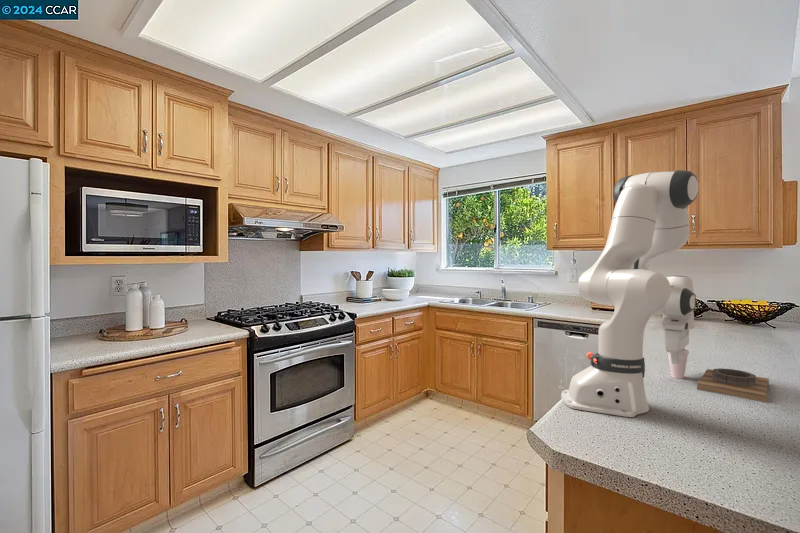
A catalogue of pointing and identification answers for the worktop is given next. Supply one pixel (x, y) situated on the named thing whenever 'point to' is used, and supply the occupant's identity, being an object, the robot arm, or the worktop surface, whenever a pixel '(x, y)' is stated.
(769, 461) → the worktop surface
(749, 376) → the stand
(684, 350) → the smoothie
